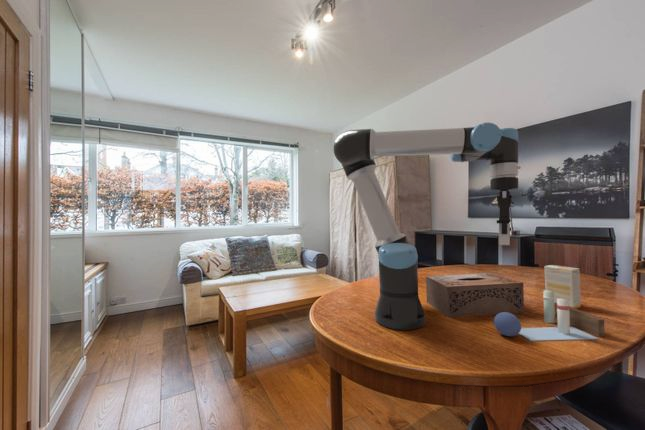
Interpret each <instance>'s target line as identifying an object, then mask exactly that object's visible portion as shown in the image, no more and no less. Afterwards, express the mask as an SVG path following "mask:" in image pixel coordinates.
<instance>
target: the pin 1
mask: <svg viewBox="0 0 645 430" xmlns="http://www.w3.org/2000/svg"><path fill="white" fill-rule="evenodd" d="M542 295H543V296H542V297H543V321H544V323H547V324H556V318H555V304H554V292H553V291H548V290H545V289H544V290H543V294H542Z"/></svg>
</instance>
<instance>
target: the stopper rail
mask: <svg viewBox="0 0 645 430" xmlns="http://www.w3.org/2000/svg"><path fill="white" fill-rule="evenodd" d="M569 309H570V310H569V318H570V326H572V327H573V326H574V327H575V326H576V327H575V328H577V327H578V328H577V329H579V330H581V331H583V332H585V333H587V334H590V335H592V336H594V337H596V338H605V337H606V336H605V335H606V333H605V332H606V331H605V327H606V326H605V319H603V318H601V317H598V316H595V315H593V314H591V313H588V312H585V311H583V310H580V309H579V308H576V309H575V308H572V307H570V306H569ZM554 310H555V319H557V303H555V304H554Z"/></svg>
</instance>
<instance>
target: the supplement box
mask: <svg viewBox="0 0 645 430" xmlns="http://www.w3.org/2000/svg"><path fill="white" fill-rule="evenodd" d="M543 269H544V283H545V284H544V288H545V289H544V290H548V291H553V292H554V305H555V303H557V299H566V300H569V306H570V307H572V308H575V309H579V308H581V307H582V297H581V294H582V293H581V274H580V273H581V272H580V268H577V267H572V266H563V265H556V264H549V265H548V264H547V265H544V268H543Z"/></svg>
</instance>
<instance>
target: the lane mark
mask: <svg viewBox="0 0 645 430" xmlns="http://www.w3.org/2000/svg"><path fill="white" fill-rule="evenodd" d="M518 335H520V336H522V337H524V338H525V339H527V340H528V341H530V342H543V341H545V342H547V341H549V342H550V341H578V340H579V341H580V340H582V341H583V340H584V341H585V340H599V337H597V336H595V335H593V334H590V333H588V332H586V331H584V330H582V329H580V328H577V327H575V326H574V327H573V326H570V335H564V334H561V333H559V332H558V326H554V327H553V326H550V327H544V326H543V327H521V330H520V332H519V333H518Z"/></svg>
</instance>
